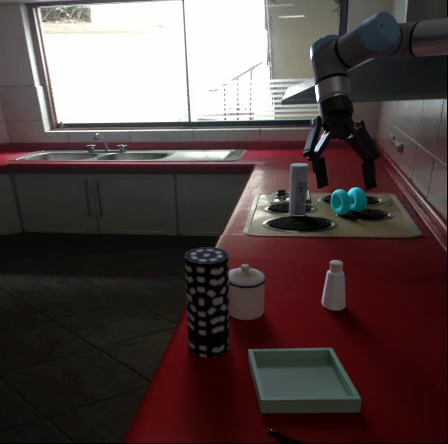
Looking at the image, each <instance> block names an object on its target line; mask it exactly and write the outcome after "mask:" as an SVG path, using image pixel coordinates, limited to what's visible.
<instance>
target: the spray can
mask: <svg viewBox="0 0 448 444" xmlns="http://www.w3.org/2000/svg"><path fill="white" fill-rule="evenodd" d="M308 178H309V164H308V163H303V162H297V163H295V162H294V163H291V164H290V165H289V194H288V195H289V197H288V215H289V214H290V215H305V216H306V212H307V196H308V195H307V194H308ZM290 215H289V216H290Z"/></svg>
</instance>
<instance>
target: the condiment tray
mask: <svg viewBox="0 0 448 444" xmlns="http://www.w3.org/2000/svg"><path fill="white" fill-rule="evenodd" d="M247 362H248V366H249V367H248V368H249V370H250V374H251V379H252V383H253V387H254V391H255V396H256V399H257V403H258V404H257V405H258V408H259V411H260V414H320V413H321V414H324V413H325V414H327V413H330V414H333V413H335V414H336V413H338V414H340V413H341V414H342V413H361V409H362V397H361V396H360V394H359V392H358V390H357V388H356V387H355V386H354V383H353V382H352V380H351V378H350V376H349V374H348V373H347V372H346V370H345V368H344V366H343V364H342V363H341V361H340V359H339V357H338V356H337V354H336V352H335V350H334V348H333V347H297V348H293V347H292V348H253V349H252V348H248V349H247Z"/></svg>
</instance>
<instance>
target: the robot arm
mask: <svg viewBox="0 0 448 444" xmlns="http://www.w3.org/2000/svg"><path fill="white" fill-rule="evenodd" d="M309 52H310V66H311V69H312V75H313V80H314V91H315V97H316V103H317V110H318V111H317V112H318V115H317V116H315V117H314V118H313V119H311V120H310V121H309V127H310V128H309V133H308V135H307V138H306V141H305V144H304V149H303V151H302V156H303V158H307V161H308V162H311V167H312V172H313V173H314V174H315V179H316V186H317V190H321V189H324V188H326V187H329V186H330V184H329V177H328V170H327V164H326V158H325V156H322V155H323V153H324V152H325V150H326V149H327V147H328V145H329V143H330V142H331V140H339V141H344V143H346V144H348V145H349V146H350V147H351V149H352V150H353V151H354V152H355V153H356V155H357V156H358V157H359V158H360V159H361V161H362V162H361V164H360V165H361V171H362V177H363V184H364V191H370V190H373V189H375V188H378V185H377V178H376V174H377V169H376V165H375V164H376V163H375V161H376V160H378V159H381V156H382V154H381V152H380V151H379V149H378V147H377V145H376V143H375V142H374V140H373V138H372V136H371V135H370V133H369V132H368V130H367V127H366V124H365V121H364V120H363V119H361V120H359V121H354V119H353V115H354V112H355V109H354V102H353V100H352V101H351V100H349V98H348V96H347V94H348V93H349V92H350V90H351V85H350V78H349V71H350V70H351V69H354V68H355V67H357V66H359V65H360V64H362V63H364V62H365V61H368V60H371V59H405V58H404V57H406V58H415V57H416V58H417V57H432V56H433V57H434V56H448V17H442V18H434V19H433V18H432V19H425V20H418V21H417V20H416V21H408V22H398V21H397V18H395V17H394V16H393V14H390V13H389V12H388V11H384V10H383V11H379V12H377V13H375V14H373V15H371V16H370V17H368V18H366V19H364V20H363V21H362V22H361V23H359V24H358V25H357V26H355V27H353V28H352V29H351V30H349V31H347V32H346V33H345V34H343V35H342V36H340V35H339V34H332V33H331V34H326V35H324V36H322V37H318V38H317V39H315V41H314V42H312V44H311V46H310V50H309ZM322 129H323V130H324V131H323V133H322V134H321V132H322ZM320 134H321V136H320ZM319 137H320V139H319ZM318 140H319V141H318Z"/></svg>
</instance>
